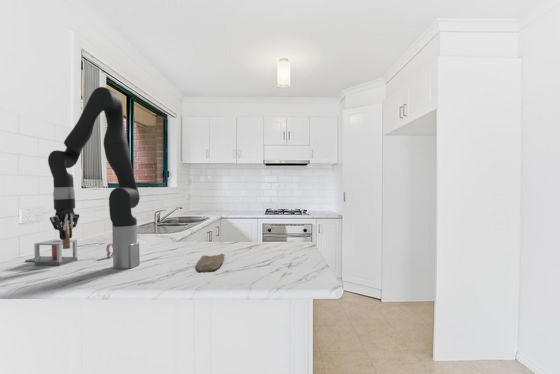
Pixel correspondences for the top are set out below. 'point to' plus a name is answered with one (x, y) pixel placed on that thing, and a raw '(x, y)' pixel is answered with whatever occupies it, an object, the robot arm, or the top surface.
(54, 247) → the plunger
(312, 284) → the top surface
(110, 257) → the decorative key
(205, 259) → the stone tool
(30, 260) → the pad
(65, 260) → the grey open cage
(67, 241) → the oak dowel
